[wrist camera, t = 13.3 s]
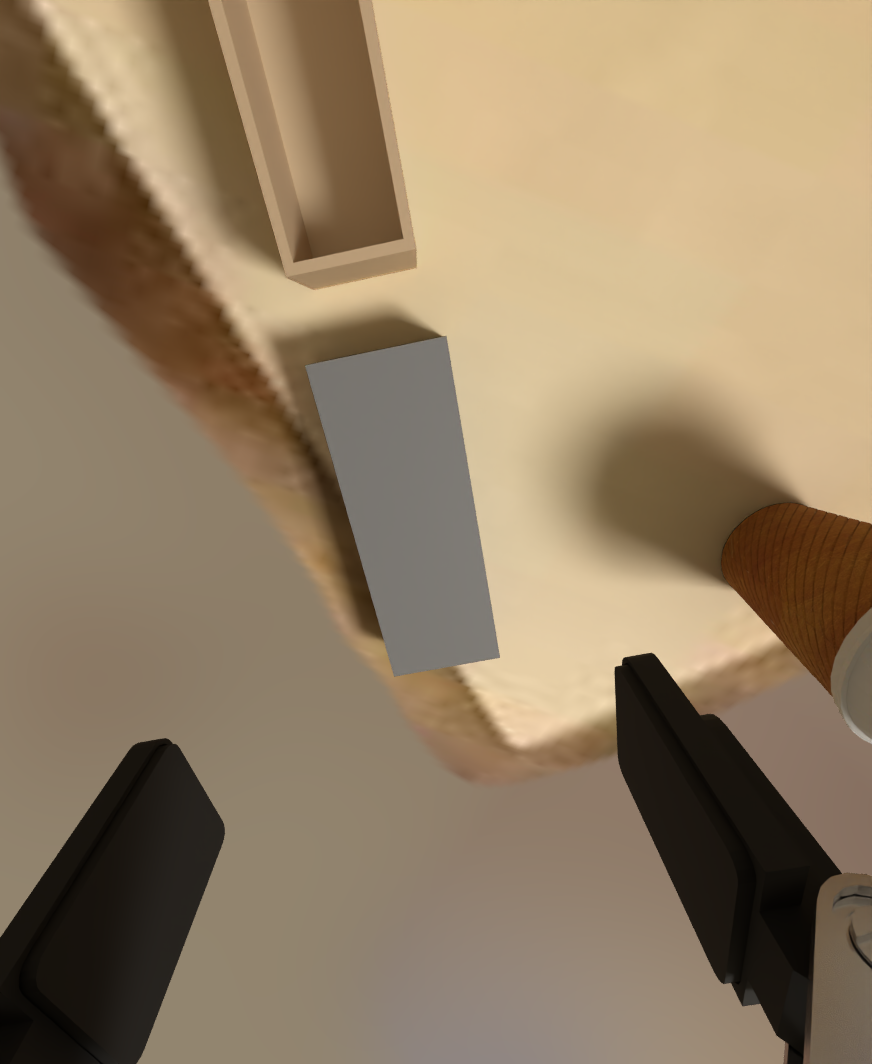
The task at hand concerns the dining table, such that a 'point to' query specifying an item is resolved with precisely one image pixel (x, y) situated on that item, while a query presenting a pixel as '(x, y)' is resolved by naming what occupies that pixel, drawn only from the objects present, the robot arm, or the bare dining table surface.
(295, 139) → the tan open box
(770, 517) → the disposable coffee cup
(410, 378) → the gray rectangular block
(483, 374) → the dining table surface
